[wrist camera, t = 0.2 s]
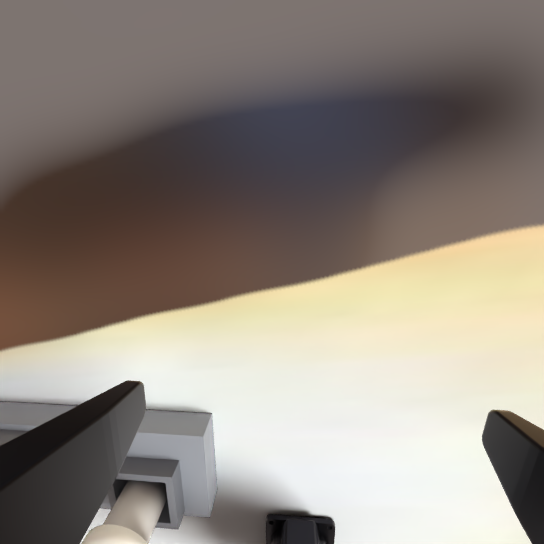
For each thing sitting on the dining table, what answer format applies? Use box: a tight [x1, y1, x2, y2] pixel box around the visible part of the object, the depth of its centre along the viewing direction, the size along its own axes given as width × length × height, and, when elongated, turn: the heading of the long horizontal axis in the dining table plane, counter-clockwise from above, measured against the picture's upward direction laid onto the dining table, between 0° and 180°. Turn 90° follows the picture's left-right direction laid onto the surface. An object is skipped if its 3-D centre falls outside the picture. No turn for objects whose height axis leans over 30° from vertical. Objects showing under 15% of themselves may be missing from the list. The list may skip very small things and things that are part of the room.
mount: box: [0, 401, 217, 529], centre depth 26 cm, size 9×21×4 cm, turn 90°
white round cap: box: [82, 480, 167, 544], centre depth 22 cm, size 5×5×6 cm
